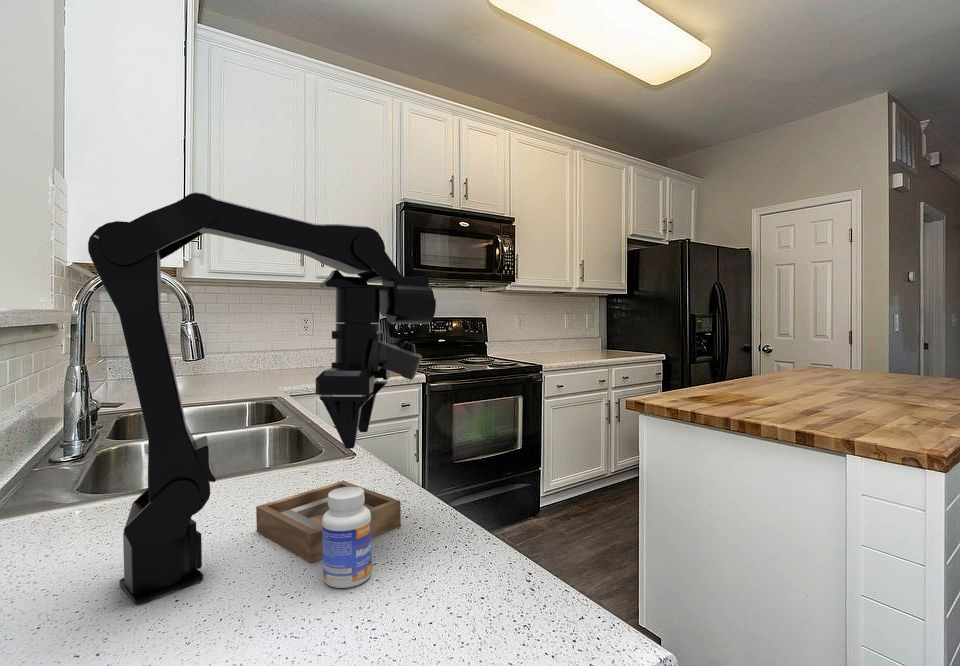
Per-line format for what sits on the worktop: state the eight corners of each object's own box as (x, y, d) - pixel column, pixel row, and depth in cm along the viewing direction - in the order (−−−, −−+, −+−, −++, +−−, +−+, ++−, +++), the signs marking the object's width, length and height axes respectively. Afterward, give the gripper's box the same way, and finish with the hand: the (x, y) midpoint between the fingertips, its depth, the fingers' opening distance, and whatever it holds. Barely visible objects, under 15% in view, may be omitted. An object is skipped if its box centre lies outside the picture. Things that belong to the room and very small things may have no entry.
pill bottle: (365, 590, 53) (364, 501, 52) (315, 589, 53) (314, 500, 52) (376, 564, 58) (376, 484, 58) (332, 564, 58) (330, 484, 58)
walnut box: (311, 563, 58) (310, 534, 58) (256, 531, 67) (256, 506, 67) (400, 525, 69) (400, 500, 69) (343, 502, 78) (342, 480, 78)
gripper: (412, 323, 56) (411, 458, 56) (422, 324, 75) (422, 425, 75) (314, 323, 56) (313, 458, 56) (349, 323, 74) (349, 425, 74)
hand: (357, 439), depth 65 cm, fingers open, 9 cm apart
